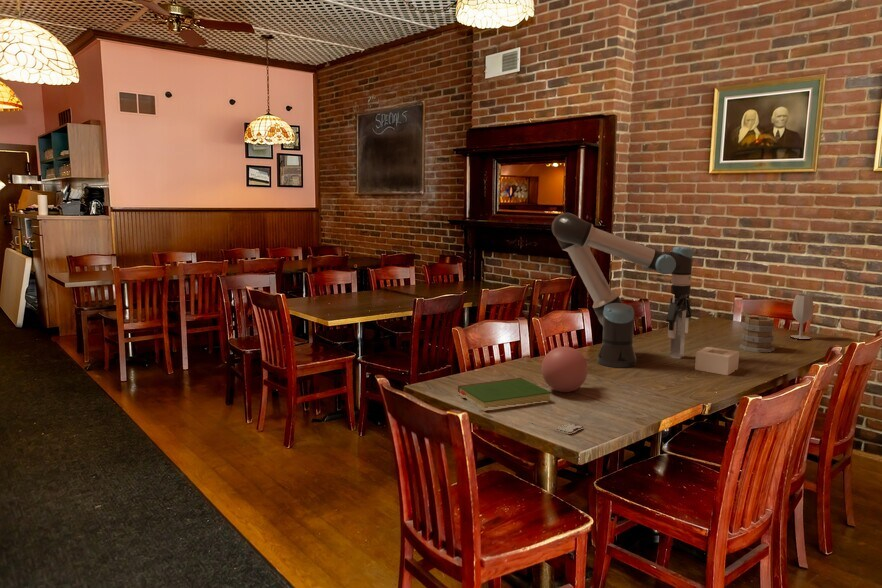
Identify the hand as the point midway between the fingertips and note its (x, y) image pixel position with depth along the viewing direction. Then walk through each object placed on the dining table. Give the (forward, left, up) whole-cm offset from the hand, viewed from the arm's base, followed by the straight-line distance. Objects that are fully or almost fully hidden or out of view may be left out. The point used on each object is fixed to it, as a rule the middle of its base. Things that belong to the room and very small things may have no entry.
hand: (678, 335), depth 257 cm
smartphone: (-104, -6, -10) cm, 105 cm away
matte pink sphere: (-71, +9, -10) cm, 72 cm away
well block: (-9, -19, -9) cm, 23 cm away
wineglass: (+75, -29, -10) cm, 81 cm away
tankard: (+40, -18, -10) cm, 45 cm away
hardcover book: (-94, +20, -10) cm, 97 cm away
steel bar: (0, 0, -9) cm, 9 cm away
